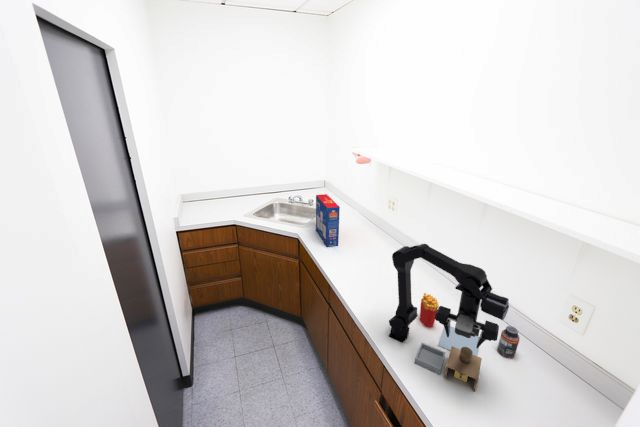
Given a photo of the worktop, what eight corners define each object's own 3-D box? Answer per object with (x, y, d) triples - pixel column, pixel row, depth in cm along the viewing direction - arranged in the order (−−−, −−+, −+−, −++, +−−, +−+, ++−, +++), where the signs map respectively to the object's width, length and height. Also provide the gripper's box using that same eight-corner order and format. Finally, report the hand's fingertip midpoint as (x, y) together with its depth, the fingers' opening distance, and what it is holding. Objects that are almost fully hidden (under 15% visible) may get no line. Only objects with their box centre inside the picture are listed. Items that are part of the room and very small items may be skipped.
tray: (414, 363, 109) (415, 358, 108) (420, 347, 116) (421, 342, 115) (439, 374, 105) (440, 369, 104) (444, 357, 112) (445, 352, 111)
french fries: (416, 316, 133) (420, 292, 128) (424, 315, 134) (428, 291, 129) (428, 331, 125) (433, 305, 120) (437, 329, 126) (442, 304, 121)
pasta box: (338, 246, 197) (339, 206, 187) (326, 247, 195) (327, 207, 185) (326, 229, 222) (326, 194, 212) (315, 230, 220) (316, 194, 210)
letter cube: (453, 377, 104) (455, 368, 103) (455, 368, 107) (457, 360, 106) (466, 382, 102) (468, 374, 101) (467, 373, 105) (469, 365, 104)
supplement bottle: (508, 346, 117) (515, 323, 113) (518, 358, 112) (525, 335, 108) (493, 346, 117) (499, 323, 113) (502, 358, 111) (509, 335, 107)
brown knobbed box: (443, 377, 104) (448, 356, 100) (449, 358, 112) (453, 337, 108) (474, 391, 99) (481, 369, 95) (478, 370, 107) (484, 349, 103)
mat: (437, 345, 117) (437, 345, 117) (444, 324, 128) (444, 324, 128) (476, 361, 110) (476, 360, 110) (480, 337, 121) (480, 337, 121)
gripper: (433, 307, 95) (428, 345, 100) (500, 329, 85) (490, 370, 91) (441, 290, 104) (436, 326, 109) (502, 309, 94) (493, 347, 99)
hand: (462, 341), depth 102 cm, fingers open, 9 cm apart
